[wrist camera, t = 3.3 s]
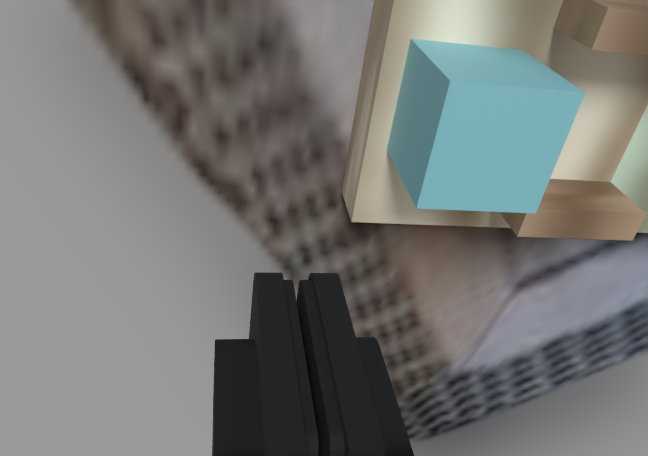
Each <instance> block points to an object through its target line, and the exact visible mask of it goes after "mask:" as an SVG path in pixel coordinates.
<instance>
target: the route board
mask: <svg viewBox="0 0 648 456" xmlns="http://www.w3.org/2000/svg"><path fill="white" fill-rule="evenodd" d="M410 39H420V40H430V41H440V42H449V43H459V44H469V45H479V46H488V47H498V48H508V49H517V50H524V51H525V52H527V53H528V54H530V55H531V56H533V57H534V58H535V59H537V60H538V61H540V62H541V63H543V64H544V65H546V66H547V67H548V68H550V69H551V70H553V71H554V72H556V73H557V74H559V75H560V76H561V77H563V78H564V79H566V80H567V81H569V82H570V83H572V84H573V85H574V86H576V87H577V88H579V89H580V90H582V91H583V92H585V95H584V97H583V100H582V102H581V104H580V107H579V109H578V112H577V114H576V117H575V119H574V121H573V124H572V126H571V129H570V131H569V134H568V136H567V139H566V141H565V143H564V146H563V148H562V151H561V153H560V156H559V158H558V161H557V163H556V165H555V168H554V170H553V173H552V175H551V178H550V180H549V183H548V185H547V187H546V190H545V192H544V195H543V197H542V200H541V202H540V205H539V207H538V209H537V212H536V214H535V213H512V212H488V211H465V210H442V209H418V208H416V207H415V205H414V203H413V201H412V199H411V197H410V195H409V193H408V191H407V189H406V187H405V185H404V183H403V181H402V179H401V177H400V175H399V173H398V171H397V169H396V167H395V165H394V163H393V161H392V159H391V157H390V155H389V153H388V152H387V146H388V141H389V137H390V132H391V127H392V123H393V118H394V113H395V109H396V104H397V100H398V95H399V90H400V86H401V81H402V76H403V72H404V67H405V62H406V58H407V53H408V48H409V44H410ZM342 194H343V197H344V200H345V204H346V207H347V210H348V213H349V216H350V219H351V222H364V223H391V224H418V225H445V226H472V227H499V228H511V229H512V230H513V232H514V233H515V234H516V236H517V237H542V238H572V239H601V240H631V241H633V239H634V237H635V235H636V233H648V0H375V1H374V7H373V13H372V18H371V24H370V30H369V36H368V42H367V47H366V53H365V59H364V65H363V70H362V76H361V82H360V88H359V93H358V99H357V105H356V111H355V117H354V122H353V128H352V134H351V140H350V145H349V151H348V157H347V163H346V168H345V174H344V180H343V186H342Z"/></svg>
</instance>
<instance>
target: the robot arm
mask: <svg viewBox="0 0 648 456" xmlns="http://www.w3.org/2000/svg"><path fill="white" fill-rule="evenodd" d="M212 456H414V454H413V451H412V448H411V445H410V441H409V438H408V435H407V432H406V429H405V425H404V422H403V419H402V416H401V413H400V410H399V406H398V403H397V400H396V397H395V394H394V391H393V387H392V384H391V381H390V378H389V375H388V372H387V368H386V365H385V362H384V359H383V356H382V353H381V349H380V346H379V344H378V342H377V340H376V339H375V338H374V337H363V338H356V337H355V333H354V329H353V326H352V322H351V318H350V315H349V311H348V307H347V304H346V300H345V296H344V293H343V289H342V285H341V282H340V278H339V275H338V274H337V273H311V274H310V275H309V279H308V280H300V282H299V287H298V294H297V301H296V297H295V290H294V284H293V281H292V280H283V274H282V273H255V274H254V283H253V295H252V307H251V320H250V333H249V339H232V340H231V339H227V340H226V339H225V340H215V358H214V397H213V447H212Z"/></svg>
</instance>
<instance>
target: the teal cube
mask: <svg viewBox="0 0 648 456" xmlns="http://www.w3.org/2000/svg"><path fill="white" fill-rule="evenodd" d="M584 95H585V92H583V91H582V90H580V89H579V88H577V87H576V86H574V85H573V84H572V83H570V82H569V81H567V80H566V79H564V78H563V77H561V76H560V75H559V74H557V73H556V72H554V71H553V70H551V69H550V68H548V67H547V66H546V65H544V64H543V63H541V62H540V61H538V60H537V59H535V58H534V57H533V56H531V55H530V54H528V53H527V52H525V51H524V50H517V49H508V48H498V47H488V46H479V45H469V44H459V43H449V42H440V41H430V40H420V39H410V44H409V48H408V53H407V58H406V62H405V67H404V72H403V76H402V81H401V86H400V90H399V95H398V100H397V104H396V109H395V113H394V118H393V123H392V127H391V132H390V137H389V141H388V146H387V152H388V153H389V155H390V157H391V159H392V161H393V163H394V165H395V167H396V169H397V171H398V173H399V175H400V177H401V179H402V181H403V183H404V185H405V187H406V189H407V191H408V193H409V195H410V197H411V199H412V201H413V203H414V205H415V207H416V208H418V209H442V210H465V211H488V212H512V213H535V214H536V212H537V209H538V207H539V205H540V202H541V200H542V197H543V195H544V192H545V190H546V187H547V185H548V183H549V180H550V178H551V175H552V173H553V170H554V168H555V165H556V163H557V161H558V158H559V156H560V153H561V151H562V148H563V146H564V143H565V141H566V139H567V136H568V134H569V131H570V129H571V126H572V124H573V121H574V119H575V117H576V114H577V112H578V109H579V107H580V104H581V102H582V100H583V97H584Z"/></svg>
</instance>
